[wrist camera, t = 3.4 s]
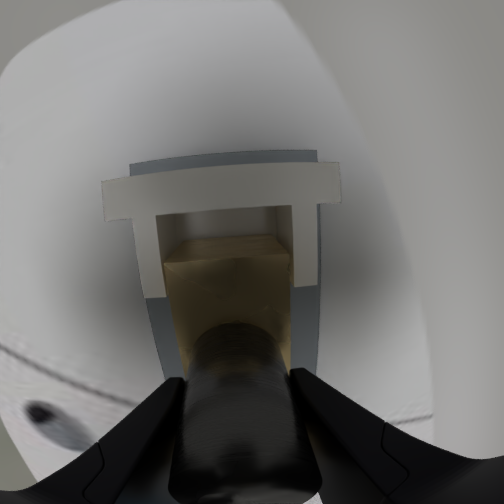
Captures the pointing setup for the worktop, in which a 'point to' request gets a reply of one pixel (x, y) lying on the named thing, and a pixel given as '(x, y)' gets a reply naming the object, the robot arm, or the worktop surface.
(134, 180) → the socket
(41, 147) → the worktop surface
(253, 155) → the board
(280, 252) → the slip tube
